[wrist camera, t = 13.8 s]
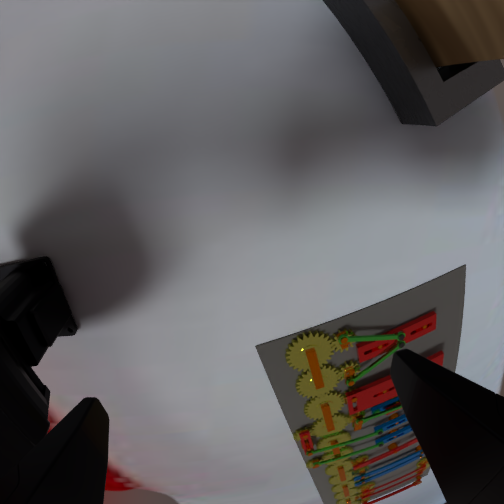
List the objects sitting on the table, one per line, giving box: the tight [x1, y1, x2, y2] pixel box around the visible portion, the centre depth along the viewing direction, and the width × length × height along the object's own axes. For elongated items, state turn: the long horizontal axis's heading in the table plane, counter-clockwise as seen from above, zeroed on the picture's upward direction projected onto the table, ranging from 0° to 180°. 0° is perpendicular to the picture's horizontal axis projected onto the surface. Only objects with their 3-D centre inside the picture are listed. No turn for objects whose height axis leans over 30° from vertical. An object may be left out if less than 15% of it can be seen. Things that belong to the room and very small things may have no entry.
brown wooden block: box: [395, 0, 504, 67], centre depth 10 cm, size 3×5×13 cm, turn 34°
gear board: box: [255, 265, 466, 504], centre depth 31 cm, size 45×2×19 cm
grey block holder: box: [323, 0, 504, 126], centre depth 14 cm, size 9×11×4 cm
